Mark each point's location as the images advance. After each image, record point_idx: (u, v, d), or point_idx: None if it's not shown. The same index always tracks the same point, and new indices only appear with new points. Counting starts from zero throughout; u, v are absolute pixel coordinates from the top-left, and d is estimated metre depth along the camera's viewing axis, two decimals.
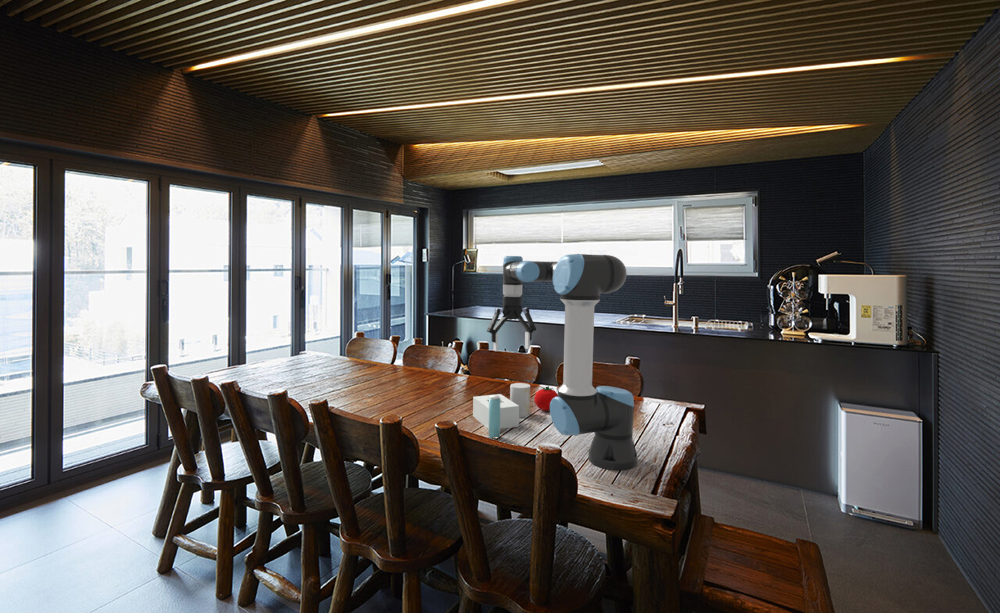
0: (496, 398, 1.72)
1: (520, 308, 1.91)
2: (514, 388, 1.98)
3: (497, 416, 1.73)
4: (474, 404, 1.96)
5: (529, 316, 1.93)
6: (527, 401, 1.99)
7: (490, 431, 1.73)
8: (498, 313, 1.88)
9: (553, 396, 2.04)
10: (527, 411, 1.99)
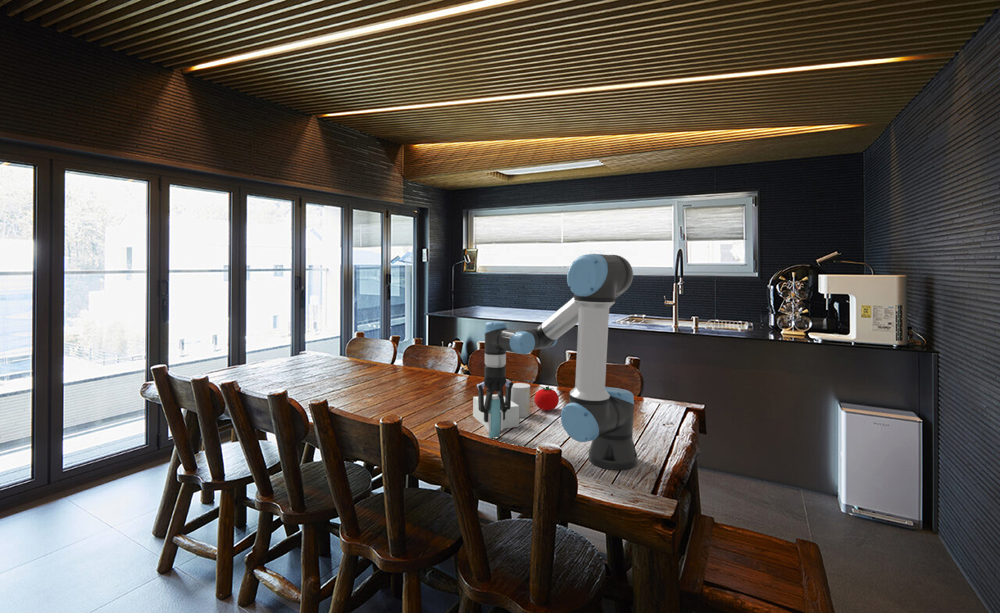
0: (496, 398, 1.72)
1: (505, 379, 1.73)
2: (514, 388, 1.98)
3: (497, 416, 1.73)
4: (474, 404, 1.96)
5: (509, 391, 1.74)
6: (527, 401, 1.99)
7: None
8: (481, 390, 1.70)
9: (553, 396, 2.04)
10: (527, 411, 1.99)
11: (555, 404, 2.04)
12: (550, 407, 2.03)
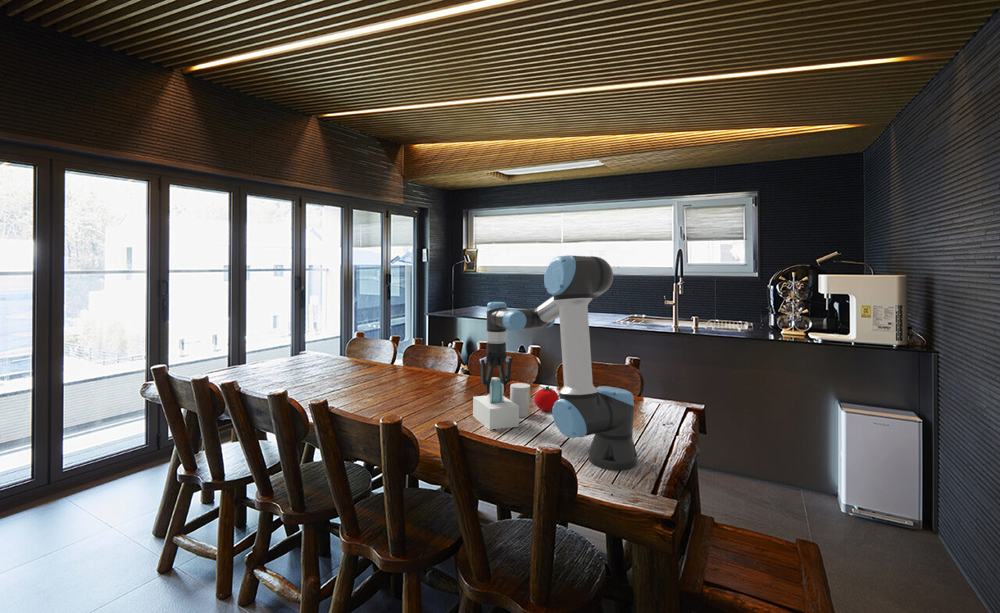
0: (497, 380, 1.89)
1: (505, 354, 1.90)
2: (514, 388, 1.98)
3: (498, 396, 1.90)
4: (474, 404, 1.96)
5: (509, 366, 1.91)
6: (527, 401, 1.99)
7: None
8: (483, 364, 1.87)
9: (553, 396, 2.04)
10: (527, 411, 1.99)
11: None
12: (550, 407, 2.03)
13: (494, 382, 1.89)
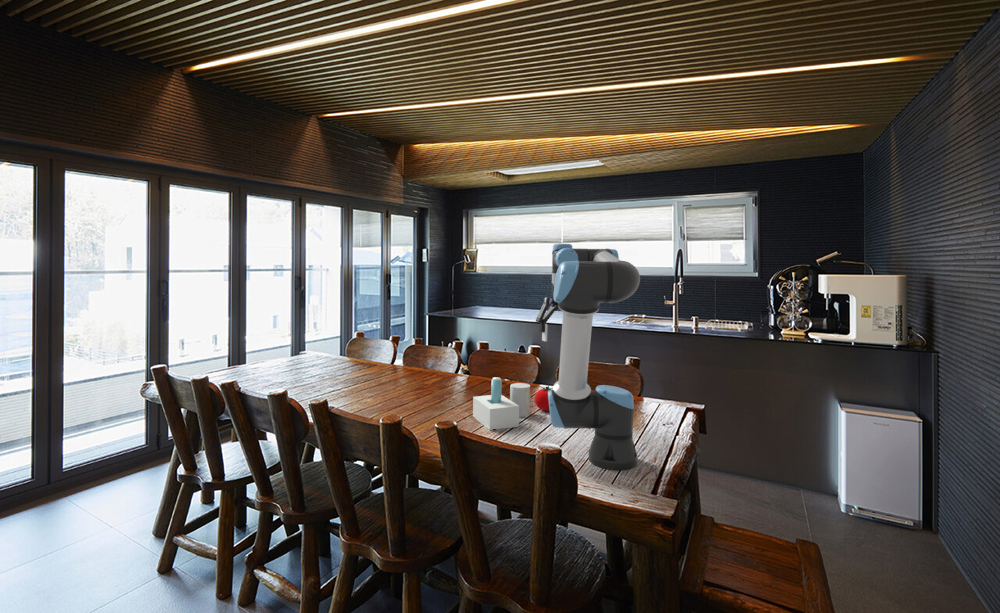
0: (498, 380, 1.90)
1: None
2: (514, 388, 1.98)
3: (498, 396, 1.90)
4: (474, 404, 1.96)
5: None
6: (527, 401, 1.99)
7: None
8: (548, 302, 1.83)
9: None
10: (527, 411, 1.99)
11: None
12: None
13: (495, 382, 1.89)
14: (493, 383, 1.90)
